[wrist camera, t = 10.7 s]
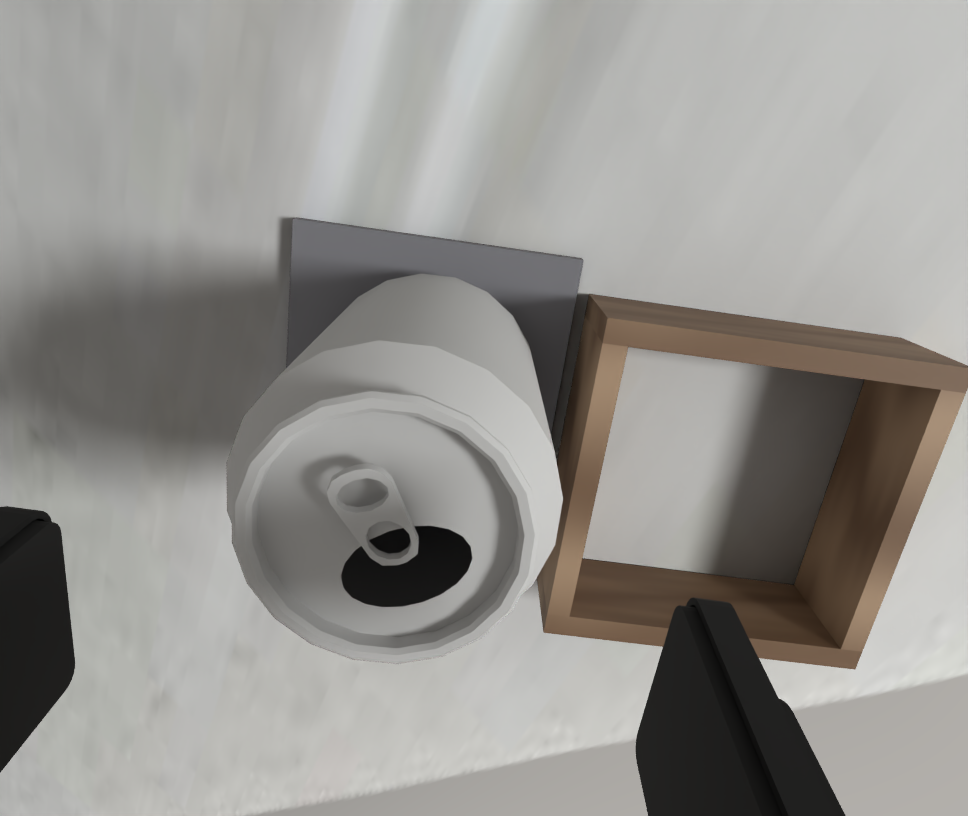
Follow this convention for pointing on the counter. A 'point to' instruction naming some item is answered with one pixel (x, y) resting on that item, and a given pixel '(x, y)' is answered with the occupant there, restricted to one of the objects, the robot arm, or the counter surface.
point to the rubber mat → (389, 255)
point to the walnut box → (844, 511)
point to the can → (398, 476)
